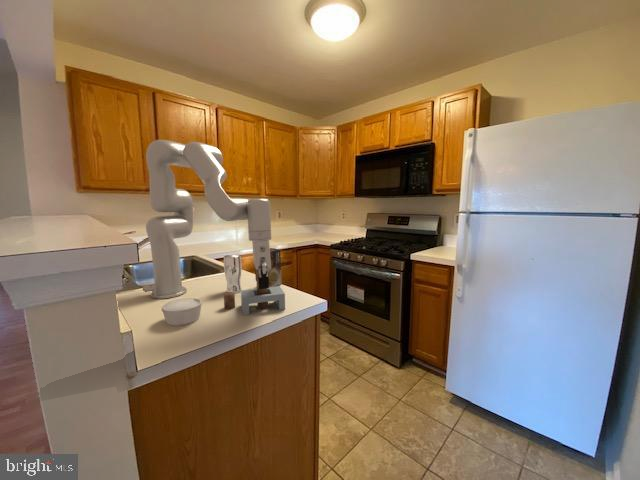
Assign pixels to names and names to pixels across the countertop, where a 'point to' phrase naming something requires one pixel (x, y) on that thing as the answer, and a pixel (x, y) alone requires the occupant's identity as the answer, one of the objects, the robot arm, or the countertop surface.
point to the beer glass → (233, 272)
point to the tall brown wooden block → (261, 293)
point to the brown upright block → (229, 300)
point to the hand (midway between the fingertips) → (262, 284)
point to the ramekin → (182, 311)
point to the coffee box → (275, 268)
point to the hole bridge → (262, 298)
